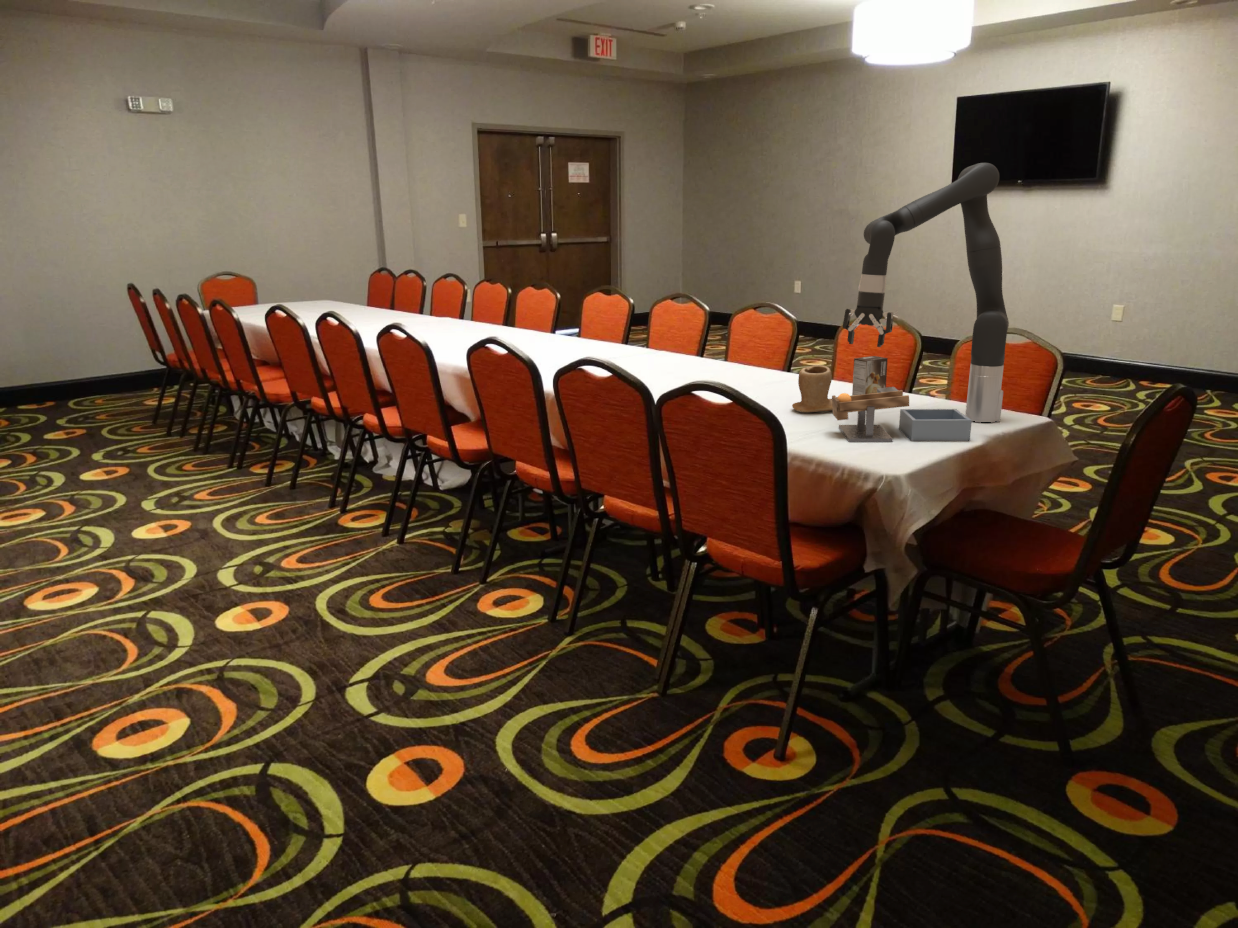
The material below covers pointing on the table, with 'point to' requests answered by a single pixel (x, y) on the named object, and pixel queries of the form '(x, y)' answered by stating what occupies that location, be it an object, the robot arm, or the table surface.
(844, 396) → the ball
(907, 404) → the chute
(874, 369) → the coffee box
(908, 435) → the bin
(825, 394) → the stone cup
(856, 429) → the stand
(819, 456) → the table surface
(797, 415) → the table surface
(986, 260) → the robot arm
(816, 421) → the table surface
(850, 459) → the table surface
